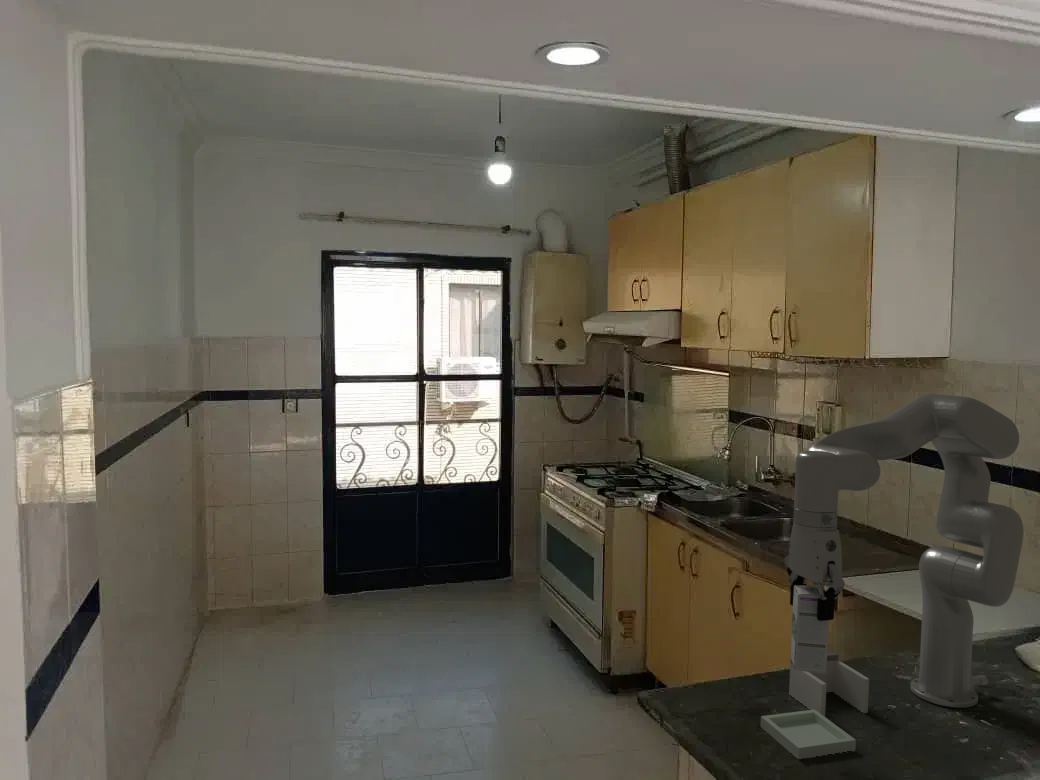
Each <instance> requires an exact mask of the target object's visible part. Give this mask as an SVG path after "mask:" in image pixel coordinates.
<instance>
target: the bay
mask: <svg viewBox="0 0 1040 780" xmlns="http://www.w3.org/2000/svg"><path fill="white" fill-rule="evenodd" d="M789 660H790V661H789V687H788V688H789V690H788V695H791V696H792V697H794V698H795V699H796V700H798V701H799V702H800V703H802V704H803V705H804V706H806V707H807V708H808V709H810V710H814V709H815V710H816V711H817V712H819V713H820V714H821V715H823V716H824V717H825V718H826V704H827V693H826V692H832V691H833V692H835V693H836V694H837V695H839V696H840V697H841V698H840V697H839V696H838V697H839V698H840V699H842V698H843V699H844V700H843V699H842V700H843V701H844V702H846V701H847V702H846V703H848V702H849V703H850V705H851V706H852V705H853V706H852V707H854V708H855V707H856V708H857V710H858V711H859V710H860V711H859V712H861V713H862V712H863V713H862V714H867V713H869V695H870V694H869V692H870V678H869V677H867V676H865V675H863V674H862V673H861V672H859V671H857V670H856V669H854V668H852V667H850V666H849V665H847V664H845V663H844V662H842V661H841V660H839V654H838V653H837V652H829V653H828V652H827V667H826V674H825V673H815V672H806V671H799V670H795V669H794V666H793V664H792V661H791V659H789ZM836 694H835V695H836ZM837 695H836V696H837ZM791 696H790V697H791ZM792 697H791V698H792ZM795 699H794V700H795ZM796 700H795V701H796ZM799 702H798V703H799ZM800 703H799V704H800ZM849 703H848V704H849ZM803 705H802V706H803ZM804 706H803V707H804ZM807 708H806V709H807ZM856 708H855V709H856ZM808 709H807V710H808Z"/></svg>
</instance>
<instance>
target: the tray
mask: <svg viewBox="0 0 1040 780" xmlns="http://www.w3.org/2000/svg"><path fill="white" fill-rule="evenodd" d="M759 726H760V728H761V729H763V731H765V732H766V733H767V734H768V735H769V736H770V737H772V738H773V739H774V740H775V741H776V742H777V743H779V745H781V746H782V747H784V749H786V751H788V752H789V753H790V754H791V753H792V754H791V755H793V756H794V758H796V759H797V760H802V759H803V758H804V759H810V758H817V757H816V756H818V757H824V756H823V755H825V756H828V755H827V754H832V755H836V754H835V753H839V752H840V753H839V754H843V753H842V752H846V753H848V752H847V751H852V752H856V747H857V746H856V745H857V739H855V737H853V736H851V735H850V734H848V733H847V732H846V731H845V730H843V729H842V728H840V727H839V726H838V725H836V724H835V723H834V722H832V721H831V720H829V719H828V718H827V717H826V716H825V717H824V716H823V715H821V714H820V713H819V712H817V711H816V710H815V709H814V710H808V709H807V710H799V711H792V712H784V713H776V714H768V715H761V716H760V725H759ZM804 759H803V760H804Z"/></svg>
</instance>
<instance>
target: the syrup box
mask: <svg viewBox="0 0 1040 780" xmlns="http://www.w3.org/2000/svg"><path fill="white" fill-rule="evenodd" d="M825 591H827V589H825ZM818 598H820V594H819V591H818V587H817V585H816V586H815V585H808V584H807V585H794V595H793V606H792V619H791V639H790V657H789V658H790V659H791V661H792V664H793V666H794V669H795V670H799V671H806V672H815V673H825V674H826V667H827V653H828V648H829V646H828V645H829V628H830V627H829V624H830V620H826V621H819V620H817V602H818ZM790 659H789V660H790Z"/></svg>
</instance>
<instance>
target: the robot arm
mask: <svg viewBox="0 0 1040 780" xmlns="http://www.w3.org/2000/svg"><path fill="white" fill-rule="evenodd" d="M1013 421H1014V420H1013ZM1013 421H1012V419H1011V418H1009V417H1008V416H1006V415H1004V414H1003V413H1002V412H1000V411H998V410H996V409H995V408H993V407H991V406H990V405H988V404H986V403H985V402H982V401H981V400H978V399H976V398H973V397H968V396H961V395H947V394H925V395H924V394H923V395H920V396H918V397H916V398H915V399H914V398H913V399H912V400H911V401H909V402H908V403H905V404H904V405H903V406H901V407H899V408H898V409H896V410H894V411H893V412H891V413H889V414H888V415H886V416H884V417H883V418H881V419H878V420H875V421H870V422H869V421H868V422H865V423H862V424H859V425H855V426H850V427H846V428H843V429H840V430H837V431H834V432H831V433H829V434H828V435H826V436H824V437H823V438H820V439H819V440H818V441H816V442H814V443H813V444H811V446H810V447H809V448H808V449H807V450H804V451H800V452H799V453H797V455H796V459H795V472H794V473H795V474H794V497H793V498H794V501H793V502H794V503H793V521H792V523H793V524H792V527H791V533H790V540H789V548H788V549H789V551H788V554H787V555H786V556H785V557H784V559H783V560H784V563H785V566H786V572H787V574H788V583H789V584H790V591H789V592H790V593H789V596H790V597H789V605H791V607H793V595H794V585H807V586H808V584H807V583H806V580H808V581H810V582H811V583H814V584H815V585H816V587H818V591H819V594H820V598H818V602H817V620H819V621H826V620H829V621H833V620H834V619H835V601H836V600H837V599H838V596H839V595H840V594H841V592H842V590H843V589H844V587H845V586H846V582H845V581H844V579H843V577H842V576H843V556H842V555H843V554H842V552H843V551H842V541H841V536H840V530H839V529H837V528H838V510H839V509H838V507H839V506H838V505H839V491H841V490H842V491H852V492H863V491H866V490H869V489H871V488H872V487H874V485H876V484H877V483H878V481H879V479H880V477H881V465H880V463H879V461H890V460H891V461H892V460H897V459H903V458H906V457H908V456H910V455H912V454H913V453H915V452H916V451H918V450H919V449H921V448H922V447H923V446H925V445H926V444H928V443H930V442H931V444H933V447H934V449H935V450H936V451H937V453H938V455H939V456H940V459H941V462H942V465H943V468H944V476H943V477H944V480H943V484H942V489H941V490H942V491H941V495H940V501H939V505H938V511H937V517H936V530H937V532H938V534H939V535H940V537H943V538H945V539H947V540H948V541H949V540H950V541H952V542H955V543H960V544H963V545H967V546H969V547H974V548H979V549H982V550H983V555H981V554H978V553H973V552H971V551H967V550H963V549H958V548H955V547H950V546H941V545H939V546H938V545H935V546H932V547H929V548H928V549H926V550H925V551H924V552H923V553H922V554H921V556H920V559H919V562H918V573H919V579H920V584H921V593H922V612H921V613H922V614H921V631H920V634H921V635H920V652H919V670H918V671H919V673H918V674H919V675H918V677H917V678H913V679H912V680H911V681H910V691H912V693H914V695H915V696H917V697H918V698H920V699H923V700H924V701H926V702H929V703H932V704H935V705H938V706H942V707H948V708H955V709H956V708H957V709H963V708H964V709H965V708H971V707H974V706H976V705H977V704H978V703H979V696H978V693H977V692H976V691H975V690H974V689H975V688H976V687H978V686H984V685H988V683H989V680H988V678H987V676H986V675H984V674H980V675H973V674H972V655H973V651H972V650H973V637H974V623H975V622H974V613H973V610H972V607H971V605H970V603H969V601H971V602H973V603H977V604H980V605H983V606H988V607H991V608H992V607H993V608H995V607H996V608H998V607H1001V606H1003V605H1005V604H1006V603H1007V602H1008V601H1009V599H1010V598H1011V596H1012V593H1013V591H1014V587H1015V583H1016V577H1017V573H1018V568H1019V564H1020V563H1019V561H1020V557H1021V553H1022V546H1023V542H1024V524H1023V520H1022V517H1021V516H1020V514H1019V513H1018V512H1017V511H1016V510H1015V509H1013V508H1012V507H1009V506H1007V505H1003V504H999V503H998V504H997V503H993V502H989V496H990V495H989V494H990V490H991V489H990V488H991V482H992V481H991V472H990V469H989V467H988V465H987V464H986V462H985V460H984V459H983V458H985V459H986V458H987V459H991V460H1001V459H1002V460H1003V459H1007V458H1009V457H1010V456H1012V455H1013V454H1014V453H1015V452H1016V450H1017V449H1018V447H1019V444H1020V434H1019V430H1018V428H1017V425H1016V424H1015V423H1014V422H1013ZM825 579H826V580H825ZM825 586H827V588H828V589H826V588H825ZM825 590H826V591H825Z"/></svg>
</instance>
